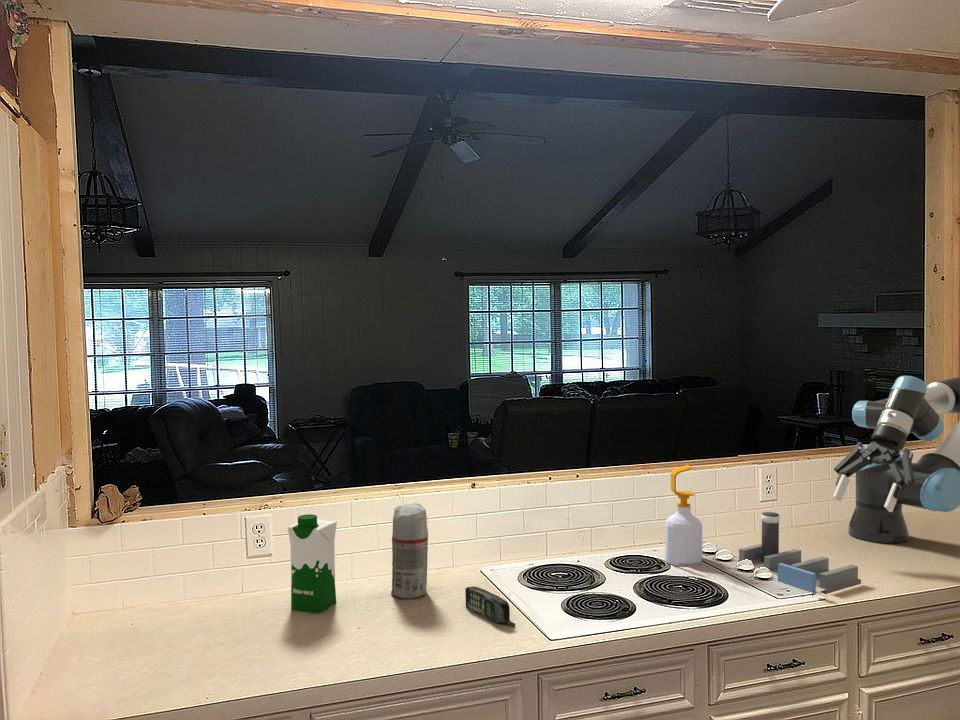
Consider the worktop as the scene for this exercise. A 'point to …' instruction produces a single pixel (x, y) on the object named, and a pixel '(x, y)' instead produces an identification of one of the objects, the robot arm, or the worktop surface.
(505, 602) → the mobile phone
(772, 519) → the grey banded cylinder
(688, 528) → the soap bottle
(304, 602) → the milk carton
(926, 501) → the robot arm
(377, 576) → the worktop surface
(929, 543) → the worktop surface
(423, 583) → the spray can
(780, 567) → the blue rectangular block
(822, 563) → the grey slotted rack
